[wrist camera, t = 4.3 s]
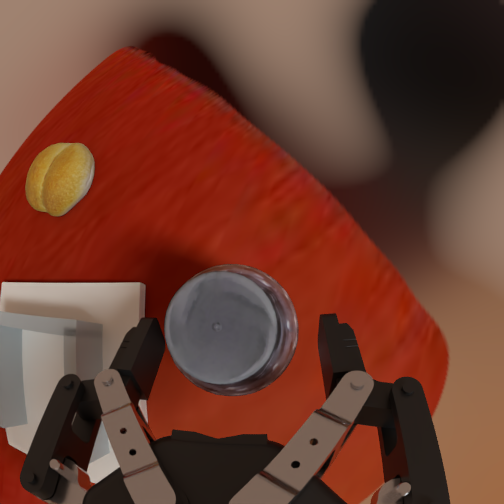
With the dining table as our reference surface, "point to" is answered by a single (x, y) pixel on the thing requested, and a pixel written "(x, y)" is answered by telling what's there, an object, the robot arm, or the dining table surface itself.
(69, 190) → the bread roll
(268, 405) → the dining table surface
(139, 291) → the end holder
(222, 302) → the supplement bottle
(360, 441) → the dining table surface
